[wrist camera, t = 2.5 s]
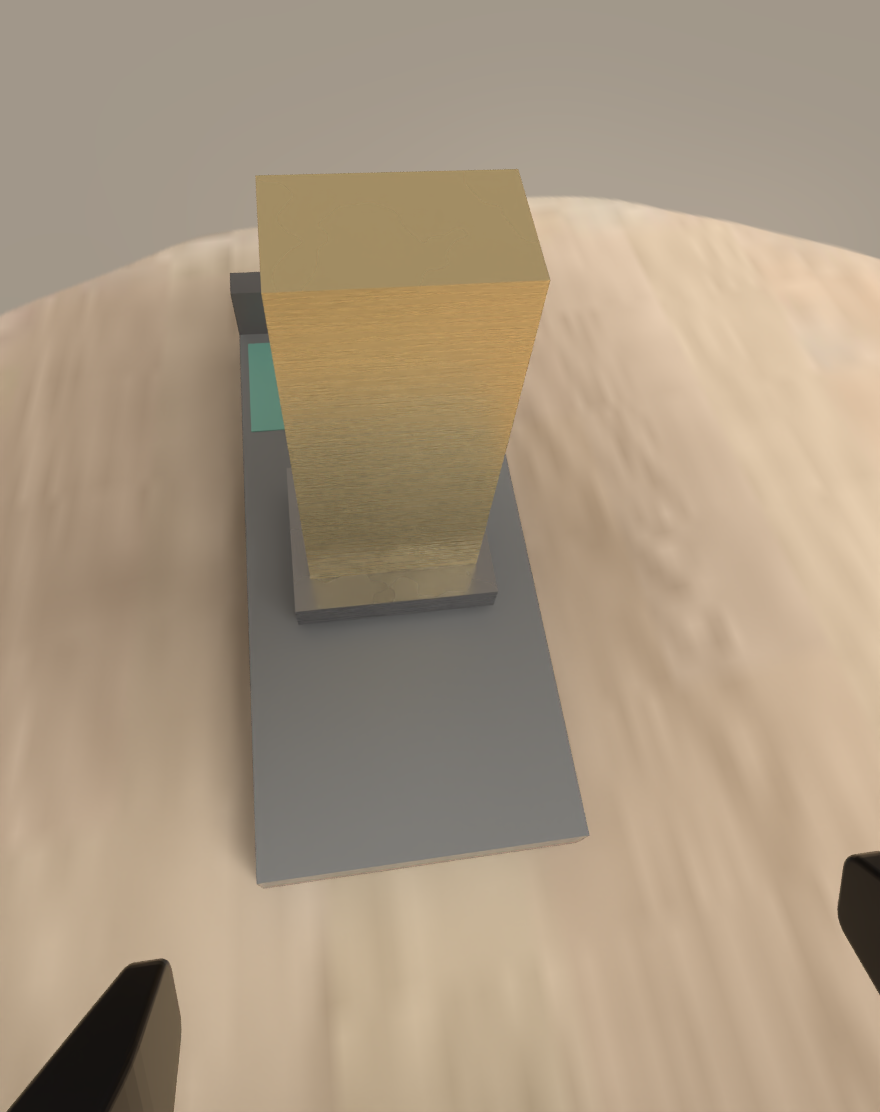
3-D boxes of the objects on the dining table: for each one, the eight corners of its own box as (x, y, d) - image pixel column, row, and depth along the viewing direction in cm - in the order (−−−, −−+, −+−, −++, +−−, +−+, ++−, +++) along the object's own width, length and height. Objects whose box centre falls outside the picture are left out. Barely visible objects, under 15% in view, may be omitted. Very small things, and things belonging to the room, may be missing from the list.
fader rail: (576, 842, 22) (609, 824, 19) (264, 888, 21) (245, 877, 18) (468, 331, 31) (478, 263, 28) (244, 343, 30) (230, 273, 27)
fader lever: (493, 605, 24) (590, 321, 13) (298, 625, 23) (231, 339, 12) (468, 471, 26) (532, 136, 15) (289, 485, 25) (226, 141, 14)
